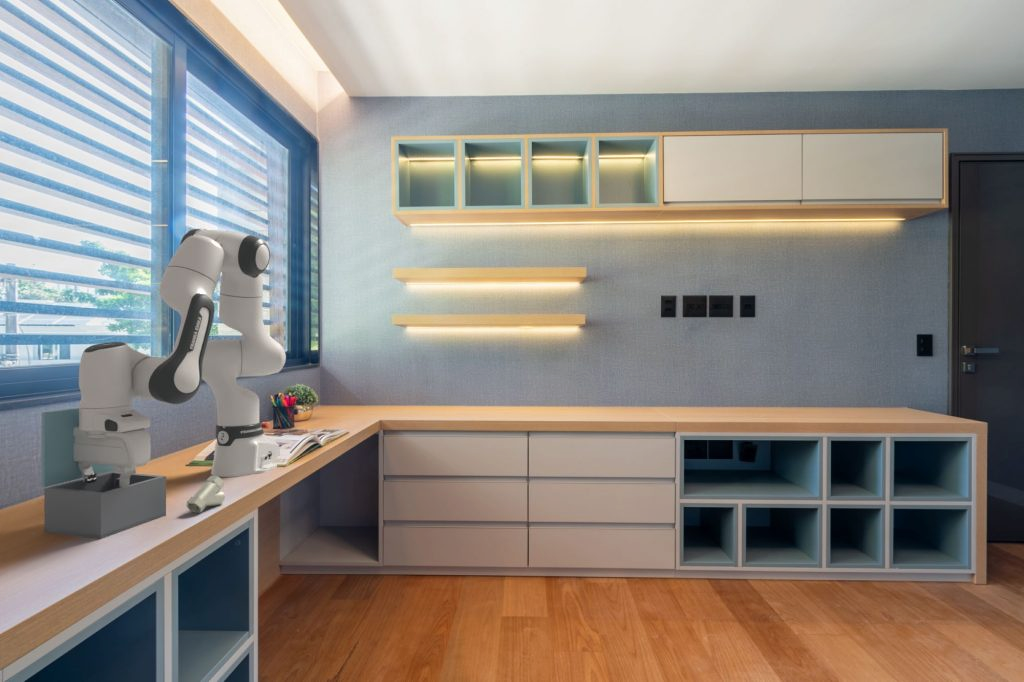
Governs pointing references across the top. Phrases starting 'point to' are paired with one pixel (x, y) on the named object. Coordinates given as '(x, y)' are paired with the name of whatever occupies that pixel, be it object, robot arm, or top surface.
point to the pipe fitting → (207, 495)
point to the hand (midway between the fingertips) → (106, 484)
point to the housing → (103, 505)
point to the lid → (61, 448)
